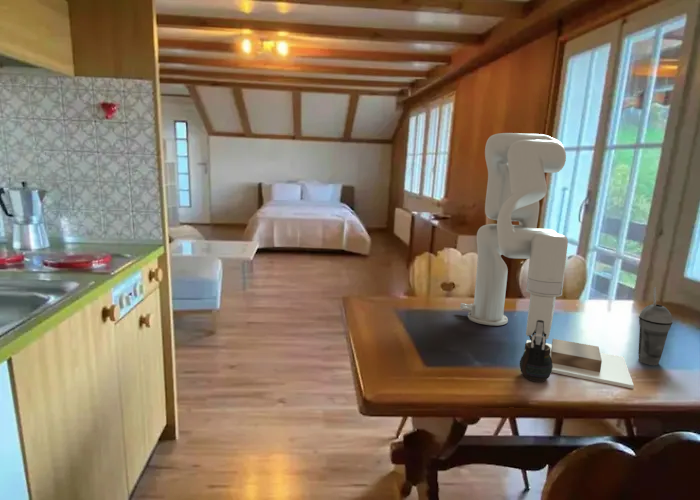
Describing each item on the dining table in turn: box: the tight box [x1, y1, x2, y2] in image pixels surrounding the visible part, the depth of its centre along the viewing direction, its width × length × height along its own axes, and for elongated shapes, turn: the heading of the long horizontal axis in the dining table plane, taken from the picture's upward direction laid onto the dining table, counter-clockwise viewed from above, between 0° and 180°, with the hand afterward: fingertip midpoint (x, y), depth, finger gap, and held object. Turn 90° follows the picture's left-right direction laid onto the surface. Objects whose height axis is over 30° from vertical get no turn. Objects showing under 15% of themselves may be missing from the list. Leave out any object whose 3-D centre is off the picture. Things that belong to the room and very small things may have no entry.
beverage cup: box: [638, 287, 673, 366], centre depth 116 cm, size 7×7×20 cm
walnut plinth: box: [551, 338, 602, 372], centre depth 115 cm, size 11×10×3 cm
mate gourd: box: [519, 335, 553, 383], centre depth 105 cm, size 7×8×10 cm
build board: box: [525, 339, 635, 389], centre depth 115 cm, size 24×18×1 cm
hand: (536, 357), depth 105 cm, fingers open, 9 cm apart
